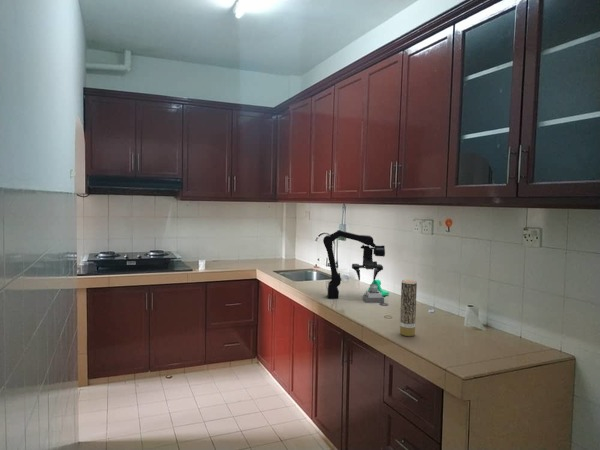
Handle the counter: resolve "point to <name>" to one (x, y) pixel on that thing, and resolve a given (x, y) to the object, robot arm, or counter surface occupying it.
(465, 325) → the counter surface
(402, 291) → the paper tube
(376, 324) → the counter surface
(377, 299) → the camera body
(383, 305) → the lens cap
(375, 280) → the camera mount
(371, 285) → the lens
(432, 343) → the counter surface
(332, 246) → the robot arm
